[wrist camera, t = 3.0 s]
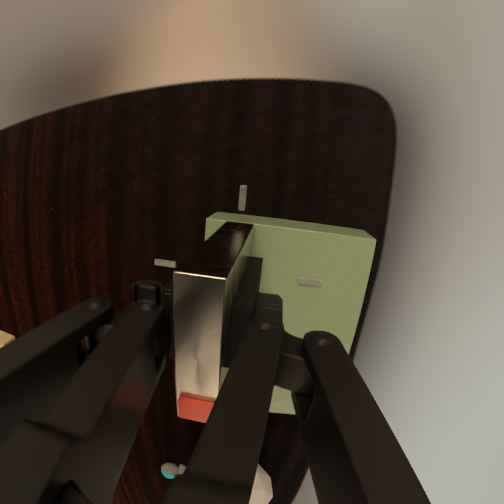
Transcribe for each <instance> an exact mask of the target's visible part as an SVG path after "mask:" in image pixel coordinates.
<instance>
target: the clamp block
mask: <svg viewBox="0 0 504 504" xmlns="http://www.w3.org/2000/svg"><path fill="white" fill-rule="evenodd" d="M246 192H247V186H246V185H240V195H239V206H238V210H243V211H244V210H245V203H246ZM226 221H231V222H240V223H249V224H254V232H253V242H252V251H251V256H252V257H260V258H263V263H262V271H261V280H260V288H259V292H261V293H269V294H277V295H279V296H280V297H281V298H282V299H283V324H284V330H285V331H286V332H288V333H289V334H291V335H293V336H296V337H299V338H303V337H304V335H305V334H306V333H307V332H310V331H316V330H318V331H326V332H330V333H331V334H333V335H335V336H337V337H338V339H339V340H340V341H341V343H342V345H343V346H344V348H345V350H346V351H347V353H348V355H349V352H350V348H351V345H352V341H353V338H354V334H355V331H356V327H357V323H358V320H359V316H360V312H361V308H362V304H363V300H364V296H365V292H366V287H367V283H368V278H369V274H370V269H371V265H372V260H373V255H374V250H375V244H376V239H375V238H373V237H372V236H371V235H369V234H368V233H367V232H365V231H364V230H360V229H353V228H346V227H339V226H331V225H324V224H317V223H309V222H301V221H293V220H285V219H277V218H269V217H260V216H251V215H242V214H233V213H224V212H216V213H214V214H213V215H211V216H210V217H208V218H207V219H206V230H205V241H206V240H207V239H208V238H209V237H210V236H211V235H212V234H213V233H214V232H216V231H217V230H218V229H219V228H220V227H221V226H222V225H223V224H224V223H225V222H226ZM155 265H160V266H167V267H174V268H176V261H169V260H162V259H155ZM269 412H274V413H284V414H295V410H294V406H293V402H292V398H291V391H290V390H287V389H283V388H280V387H277V386H274V388H273V394H272V399H271V404H270V409H269Z"/></svg>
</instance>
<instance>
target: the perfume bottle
mask: <svg viewBox="0 0 504 504" xmlns="http://www.w3.org/2000/svg"><path fill="white" fill-rule="evenodd" d="M185 469H186V466H185V465H183V464H180V466H179V467H178V466H177V465H175V464H174V463H165V464H164V465H163V466H162V467H161V471H162V474H163V475H164V476H165V477H166V478H170V479H172V478H174V477H175V476H176V475H177V474H182V473H183V472H184V471H185ZM272 497H273V494H272V486H271V478H270V476H269V475H268V474H267V473H266V472H265V471H264V470H263V469H262V467H261V466H260V465H259V464H258V466H257V471H256V475H255V480H254V484H253V488H252V493H251V497H250V501H249V504H268V503H269V502H270V500H271V499H272Z"/></svg>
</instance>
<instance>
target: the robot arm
mask: <svg viewBox="0 0 504 504" xmlns="http://www.w3.org/2000/svg"><path fill="white" fill-rule="evenodd" d="M262 263H263V258H260V257H252V256H250V258H249V260H248V263H247V266H246V268H245V271H244V274H243V277H242V279H241V282H240V285H239V288H238V290H237V293H236V296H235V299H234V301H233V304H232V307H231V319H230V331H229V344H228V357H227V368H229V369H228V372H227V374H226V377H225V379H224V381H223V384H222V386H221V388H220V391H219V393H218V395H217V398H216V400H215V403H214V405H213V407H212V410H211V412H210V414H209V417H208V419H207V421H206V424H205V426H204V428H203V430H202V433H201V435H200V437H199V440H198V442H197V444H196V447H195V449H194V451H193V453H192V456H191V458H190V460H189V462H188V465H187V467H186V469H185V471H184V472H183V473H182V474H177V475H176V476H175V477H174V478H173V480H172V482H171V484H170V485H169V487H168V489H167V492H166V494H165V496H164V498H163V500H162V502H161V504H249V501H250V497H251V493H252V488H253V484H254V480H255V475H256V471H257V466H258V462H259V457H260V453H261V448H262V443H263V439H264V434H265V429H266V424H267V419H268V414H269V409H270V404H271V399H272V394H273V388H274V386H277V387H280V388H283V389H287V390H290V391H291V398H292V402H293V406H294V410H295V414H296V417H297V421H298V425H299V429H300V433H301V437H302V441H303V445H304V448H305V452H306V456H307V460H308V464H309V468H310V472H311V475H312V480H313V484H314V487H315V491H316V495H317V499H318V503H319V504H431V503H430V501H429V499H428V498H427V495H426V493H425V491H424V489H423V487H422V485H421V484H420V482H419V480H418V478H417V476H416V474H415V472H414V470H413V468H412V467H411V465H410V463H409V461H408V459H407V457H406V456H405V454H404V452H403V450H402V448H401V446H400V444H399V443H398V441H397V439H396V437H395V436H394V434H393V432H392V430H391V428H390V426H389V425H388V423H387V421H386V419H385V417H384V416H383V414H382V412H381V410H380V409H379V407H378V405H377V403H376V401H375V400H374V398H373V396H372V395H371V393H370V391H369V389H368V387H367V386H366V384H365V382H364V380H363V379H362V377H361V375H360V374H359V372H358V370H357V369H356V367H355V365H354V363H353V362H352V360H351V358H350V356H349V355H348V353H347V351H346V350H345V348H344V346H343V345H342V343H341V341H340V340H339V339H338V337H337V336H335V335H333V334H331V333H330V332H326V331H318V330H316V331H310V332H307V333H306V334H305V335H304V337H303V338H299V337H296V336H293V335H291V334H289V333H288V332H286V331H285V330H284V324H283V299H282V298H281V297H280V296H279V295H277V294H269V293H261V292H259V288H260V280H261V271H262ZM131 293H132V304H131V305H130V307H129V308H128V309H127V310H113V308H112V302H111V301H110V300H108V299H106V298H102V297H94V298H89V299H87V300H84V301H83V302H81V303H79V304H77V305H75V306H73V307H72V308H70V309H68V310H66V311H64V312H63V313H61V314H59V315H57V316H55V317H54V318H52V319H50V320H48V321H47V322H45V323H43V324H41V325H40V326H38V327H36V328H34V329H33V330H31V331H29V332H27V333H26V334H24V335H22V336H20V337H19V338H17V339H15V340H14V341H12V342H10V343H8V344H7V345H5V346H3V347H2V348H0V504H113V494H114V491H115V488H116V485H117V483H118V480H119V477H120V475H121V472H122V469H123V467H124V464H125V462H126V459H127V457H128V454H129V452H130V449H131V446H132V444H133V441H134V439H135V436H136V434H137V431H138V429H139V426H140V424H141V422H142V419H143V417H144V414H145V412H146V409H147V407H148V405H149V402H150V400H151V397H152V395H153V393H154V390H155V388H156V385H157V383H158V381H159V378H160V376H161V374H162V371H163V369H164V367H165V364H166V351H167V350H168V348H169V347H170V357H171V358H174V333H173V281H170V282H168V283H165V284H164V285H163V284H162V283H161V282H158V281H154V280H139V281H136V282H133V283H132V284H131ZM83 338H86V344H87V349H85V350H82V348H81V343H80V340H82V339H83Z"/></svg>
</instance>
